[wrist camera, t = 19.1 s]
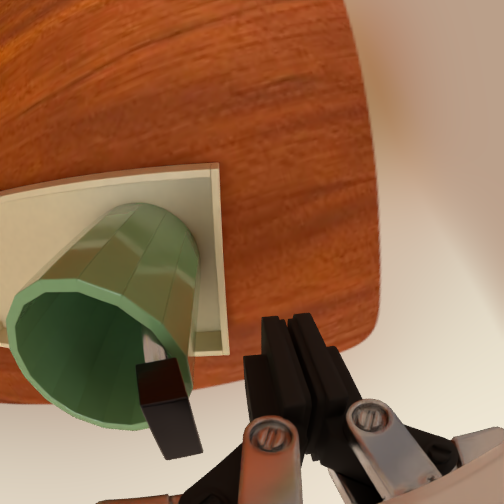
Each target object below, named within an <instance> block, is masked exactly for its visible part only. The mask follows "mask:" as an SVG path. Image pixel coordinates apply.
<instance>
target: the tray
mask: <svg viewBox="0 0 504 504" xmlns="http://www.w3.org/2000/svg"><path fill="white" fill-rule="evenodd" d="M127 203H148V204H152V205H156V206H159V207H161V208H164V209H166V210H167V211H169V212H171V213H172V214H174V215H175V216H176V217H178V218H179V219H180V220H181V221H182V222H183V223H184V224H185V225H186V226H187V228H188V229H189V230H190V232H191V233H192V235H193V236H194V238H195V241H196V243H197V245H198V249H199V252H200V258H201V282H200V294H199V306H198V318H197V332H196V346H195V356H216V355H229V354H230V352H229V338H228V324H227V309H226V294H225V278H224V261H223V242H222V222H221V200H220V174H219V163H218V162H216V163H198V164H183V165H171V166H159V167H148V168H139V169H129V170H121V171H113V172H105V173H98V174H90V175H84V176H77V177H71V178H65V179H59V180H53V181H48V182H42V183H37V184H32V185H27V186H22V187H17V188H12V189H8V190H3V191H0V347H7V348H9V343H8V336H7V328H6V317H7V315H8V312H9V309H10V307H11V304H12V302H13V299H14V297H15V295H16V294H17V293H18V292H19V291H20V289H21V288H22V287H23V286H24V285H25V284H26V283H27V282H28V281H29V280H30V279H31V278H32V277H33V276H34V275H35V274H36V273H37V272H38V271H39V270H40V269H41V268H42V267H43V266H44V265H45V264H46V263H47V262H49V261H50V260H51V259H52V258H53V257H54V256H55V255H56V254H57V253H58V252H59V251H60V250H61V249H62V248H64V247H65V246H66V245H67V244H68V243H69V242H70V241H71V240H72V239H73V238H75V237H76V236H77V235H78V234H79V233H80V232H81V231H83V230H84V229H85V228H86V227H87V226H88V225H90V224H91V223H92V222H93V221H94V220H95V219H97V218H98V217H100V216H101V215H103V214H104V213H106V212H107V211H109V210H110V209H112V208H114V207H116V206H119V205H122V204H127Z"/></svg>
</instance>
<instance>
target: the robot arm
mask: <svg viewBox="0 0 504 504" xmlns="http://www.w3.org/2000/svg"><path fill="white" fill-rule="evenodd" d="M243 361H244V379H245V389H246V397H247V405H248V412H249V420H250V423H249V424H248V426H247V427H246V428H245V431H244V434H243V442H242V443H241V444H240V445H239V446H238V447H237V448H236V449H235V450H234V451H233V452H231V453H230V454H229V455H228V456H227V457H226V458H225V459H224V460H223V461H221V462H220V463H219V464H218V465H217V466H216V467H214V468H213V469H212V470H211V471H210V472H209V473H207V474H206V475H205V476H204V477H203V478H201V479H200V480H199V481H198V482H196V483H195V484H194V485H193V486H192V487H190V488H189V489H188V490H186V491H185V492H184V494H180V495H174V496H169V495H168V494H165V495H158V496H150V497H140V498H129V499H116V500H115V499H114V500H104V501H99V502H98V503H96V504H303V500H302V480H301V466H302V462H303V458H304V454H311V457H312V460H313V461H318V460H320V463H321V465H323V466H325V467H327V468H328V471H329V474H330V476H331V478H332V479H333V482H334V484H335V486H336V487H337V489H338V491H339V493H340V495H341V497H342V499H343V501H344V502H345V504H504V429H503V428H500V427H492V428H488V429H484V430H481V431H477V432H473V433H469V434H465V435H461V436H456V437H453V439H452V440H448V439H446V438H443V437H440V436H437V435H434V434H430V433H427V432H424V431H421V430H418V429H415V428H412V427H409V426H407V425H404V424H402V422H401V421H400V420H399V418H398V417H397V416H396V414H395V413H394V412H393V411H392V409H391V408H390V407H389V406H388V405H387V404H385V403H383V402H382V401H379V400H375V399H362V397H361V395H360V393H359V391H358V389H357V387H356V385H355V383H354V381H353V379H352V377H351V375H350V373H349V371H348V369H347V367H346V365H345V363H344V361H343V359H342V357H341V355H340V353H339V351H338V349H337V348H336V347H335V346H330V347H326V345H325V343H324V341H323V339H322V337H321V334H320V332H319V330H318V328H317V326H316V324H315V322H314V320H313V318H312V316H311V314H310V313H302V314H294V315H293V319H288V326H287V325H286V323H285V320H284V319H282V320H279V317H278V316H270V317H262V322H261V355H250V356H243Z"/></svg>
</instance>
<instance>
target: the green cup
mask: <svg viewBox="0 0 504 504" xmlns="http://www.w3.org/2000/svg"><path fill="white" fill-rule="evenodd" d="M200 282H201V258H200V252H199V249H198V245H197V243H196V241H195V238H194V236H193V235H192V233H191V232H190V230H189V229H188V228H187V226H186V225H185V224H184V223H183V222H182V221H181V220H180V219H179V218H178V217H176V216H175V215H174V214H172V213H171V212H169V211H167V210H166V209H164V208H161V207H159V206H156V205H152V204H148V203H127V204H122V205H119V206H116V207H114V208H112V209H110V210H109V211H107V212H106V213H104V214H103V215H101V216H100V217H98V218H97V219H95V220H94V221H93V222H92V223H91V224H90V225H88V226H87V227H86V228H85V229H84V230H83V231H81V232H80V233H79V234H78V235H77V236H76V237H75V238H73V239H72V240H71V241H70V242H69V243H68V244H67V245H66V246H65V247H64V248H62V249H61V250H60V251H59V252H58V253H57V254H56V255H55V256H54V257H53V258H52V259H51V260H50V261H49V262H47V263H46V264H45V265H44V266H43V267H42V268H41V269H40V270H39V271H38V272H37V273H36V274H35V275H34V276H33V277H32V278H31V279H30V280H29V281H28V282H27V283H26V284H25V285H24V286H23V287H22V288H21V289H20V291H19V292H18V293H17V294H16V295H15V297H14V299H13V302H12V304H11V307H10V309H9V312H8V315H7V317H6V328H7V336H8V343H9V348H10V351H11V353H12V355H13V357H14V358H15V360H16V362H17V364H18V366H19V368H20V370H21V372H22V373H23V375H24V376H25V378H26V379H27V380H28V381H29V382H30V383H31V384H32V385H33V386H34V387H35V388H36V389H37V390H38V391H39V393H40V394H41V395H42V396H43V397H44V398H45V399H47V400H48V401H49V402H51V403H52V404H54V405H55V406H57V407H59V408H60V409H62V410H63V411H65V412H66V413H68V414H70V415H71V416H73V417H75V418H78V419H80V420H83V421H86V422H88V423H91V424H94V425H97V426H100V427H103V428H109V429H119V430H130V431H137V430H142V429H147V428H149V426H148V423H147V421H146V419H145V417H144V415H143V412H142V410H141V408H140V403H139V396H138V388H137V380H136V371H135V365H136V364H141V363H145V357H144V349H143V341H142V333H141V324H143V325H144V326H146V327H147V328H149V329H150V330H151V331H152V332H153V333H154V334H155V336H156V337H157V338H158V340H159V341H160V342H161V344H162V345H163V346H164V348H165V349H166V350H167V354H168V358H173V357H176V358H177V360H178V364H179V368H180V371H181V375H182V378H183V381H184V385H185V388H186V392H187V395H188V398H189V396H190V394H191V391H192V389H193V380H194V362H195V346H196V332H197V318H198V306H199V294H200ZM140 323H141V324H140Z"/></svg>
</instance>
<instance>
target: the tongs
mask: <svg viewBox="0 0 504 504" xmlns="http://www.w3.org/2000/svg"><path fill="white" fill-rule="evenodd" d="M140 324H141V323H140ZM141 333H142V341H143V349H144V357H145V363H141V364H136V365H135V371H136V380H137V388H138V396H139V403H140V408H141V410H142V412H143V415H144V417H145V419H146V421H147V423H148V426H149V428H150V430H151V432H152V434H153V436H154V438H155V440H156V442H157V444H158V446H159V448H160V450H161V452H162V454H163V456H164V458H165V459H166V460H171V459H177V458H181V457H187V456H191V455H196V454H200V453H203V449H202V445H201V442H200V438H199V435H198V432H197V428H196V424H195V421H194V417H193V413H192V410H191V406H190V402H189V398H188V395H187V392H186V388H185V385H184V381H183V378H182V375H181V371H180V368H179V364H178V360H177V358H176V357H173V358H168V354H167V350H166V349H165V348H164V346H163V345H162V344H161V342H160V341H159V340H158V338H157V337H156V336H155V334H154V333H153V332H152V331H151V330H150V329H149V328H147V327H146V326H144V325H143V324H141Z"/></svg>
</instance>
